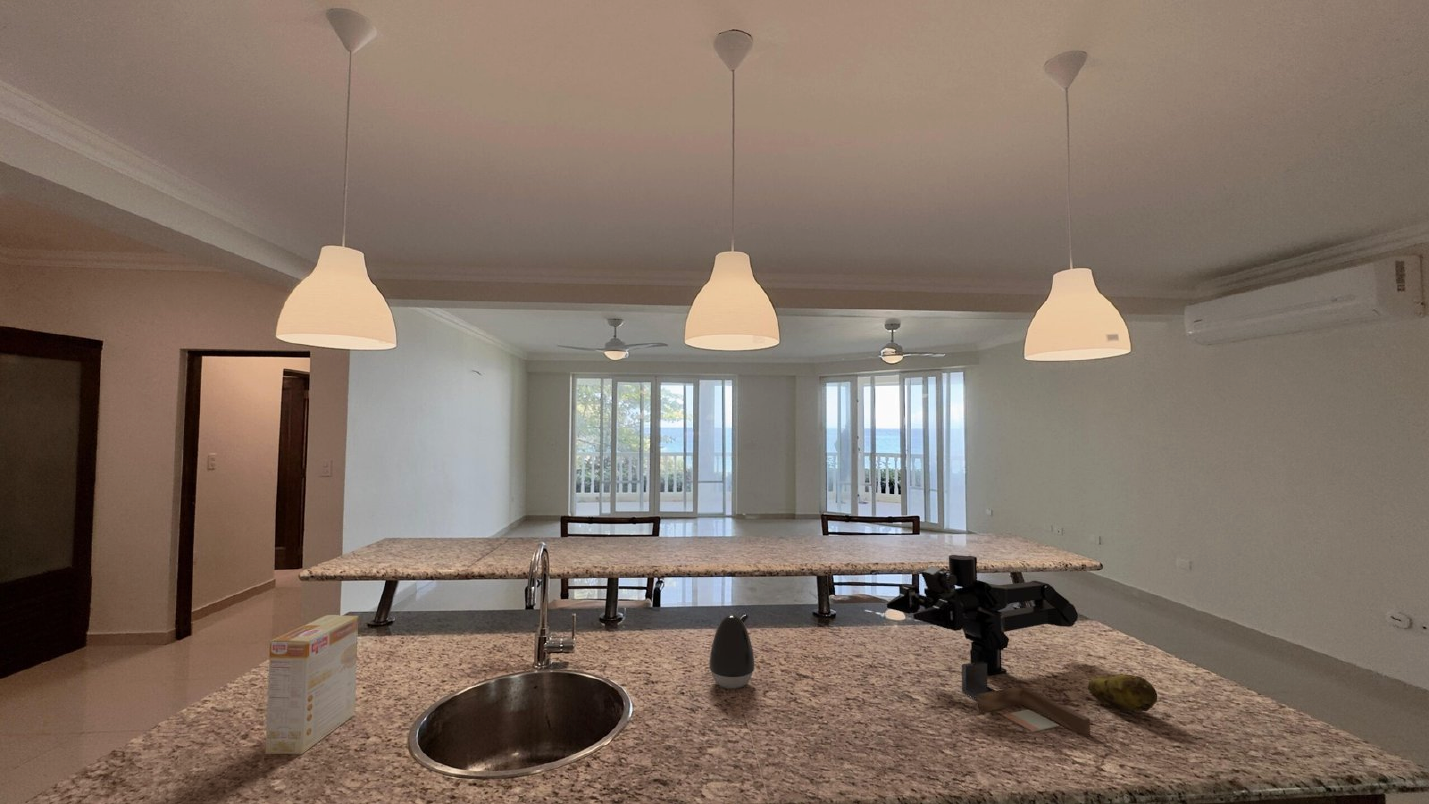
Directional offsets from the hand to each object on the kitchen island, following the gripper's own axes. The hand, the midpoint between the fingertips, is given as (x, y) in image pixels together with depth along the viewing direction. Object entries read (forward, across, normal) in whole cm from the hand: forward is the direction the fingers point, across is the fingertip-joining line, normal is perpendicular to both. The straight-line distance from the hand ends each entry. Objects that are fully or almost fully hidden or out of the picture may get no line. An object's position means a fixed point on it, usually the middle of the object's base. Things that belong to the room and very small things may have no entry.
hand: (900, 610), depth 134 cm
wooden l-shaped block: (-12, +22, +17) cm, 31 cm away
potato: (-34, +26, +18) cm, 47 cm away
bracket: (-13, +10, +17) cm, 24 cm away
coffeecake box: (+118, -21, +12) cm, 120 cm away
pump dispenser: (+36, -14, +15) cm, 42 cm away
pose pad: (-12, +22, +17) cm, 31 cm away
